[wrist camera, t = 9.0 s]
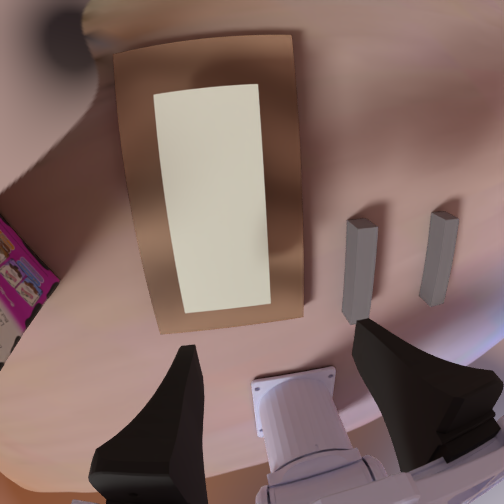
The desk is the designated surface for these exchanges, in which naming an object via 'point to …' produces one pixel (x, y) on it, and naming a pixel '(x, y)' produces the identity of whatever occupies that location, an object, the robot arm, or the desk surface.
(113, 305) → the desk surface
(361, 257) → the battens
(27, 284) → the candy bar box
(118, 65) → the peg stand
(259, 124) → the shelf board
